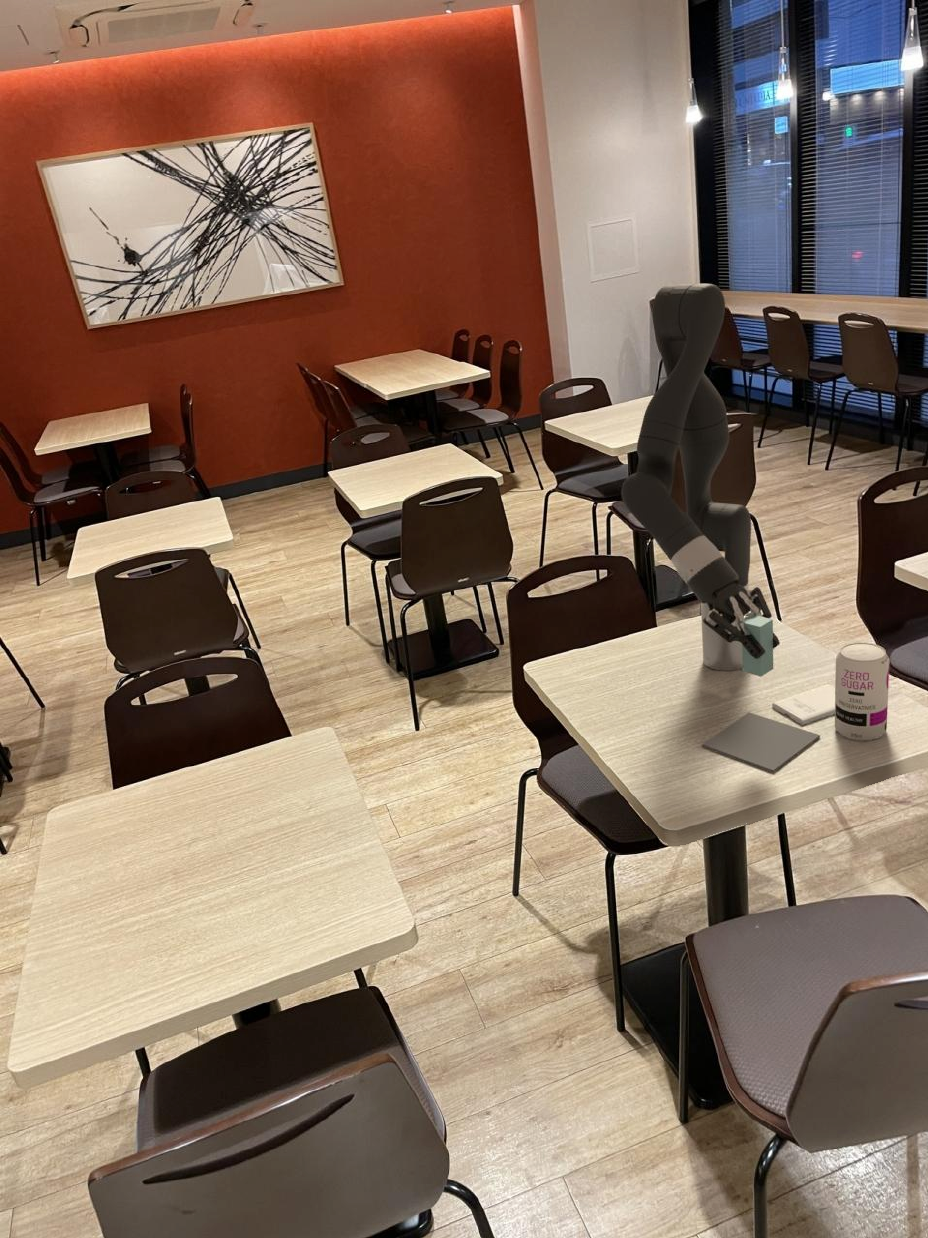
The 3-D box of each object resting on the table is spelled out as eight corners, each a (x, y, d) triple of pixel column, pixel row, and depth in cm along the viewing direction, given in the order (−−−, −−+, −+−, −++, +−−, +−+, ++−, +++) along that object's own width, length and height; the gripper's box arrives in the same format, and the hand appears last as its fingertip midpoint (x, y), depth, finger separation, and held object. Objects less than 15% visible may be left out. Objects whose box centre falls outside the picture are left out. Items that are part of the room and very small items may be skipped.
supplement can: (877, 717, 164) (880, 639, 159) (893, 741, 157) (896, 660, 151) (829, 720, 165) (830, 643, 160) (842, 744, 158) (843, 663, 152)
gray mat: (748, 714, 171) (748, 712, 171) (819, 737, 160) (820, 735, 160) (701, 746, 163) (701, 744, 163) (773, 772, 153) (773, 770, 152)
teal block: (755, 663, 159) (754, 614, 155) (773, 668, 156) (772, 619, 153) (742, 671, 157) (741, 622, 154) (761, 676, 154) (760, 626, 151)
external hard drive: (858, 707, 169) (802, 727, 165) (826, 690, 176) (772, 709, 172) (859, 699, 168) (802, 719, 165) (826, 683, 176) (772, 701, 172)
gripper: (689, 570, 151) (757, 656, 147) (741, 544, 159) (807, 625, 155) (665, 594, 157) (729, 678, 153) (716, 568, 165) (778, 647, 161)
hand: (768, 651), depth 154 cm, fingers closed on teal block, 3 cm apart
